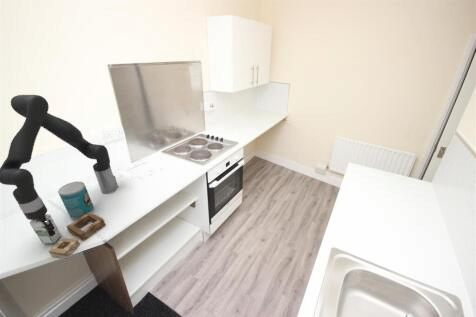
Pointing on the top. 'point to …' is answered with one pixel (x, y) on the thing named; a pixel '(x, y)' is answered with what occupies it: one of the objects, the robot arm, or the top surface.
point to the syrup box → (42, 232)
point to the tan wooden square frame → (59, 247)
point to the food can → (76, 199)
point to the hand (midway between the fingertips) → (48, 232)
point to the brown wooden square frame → (79, 223)
